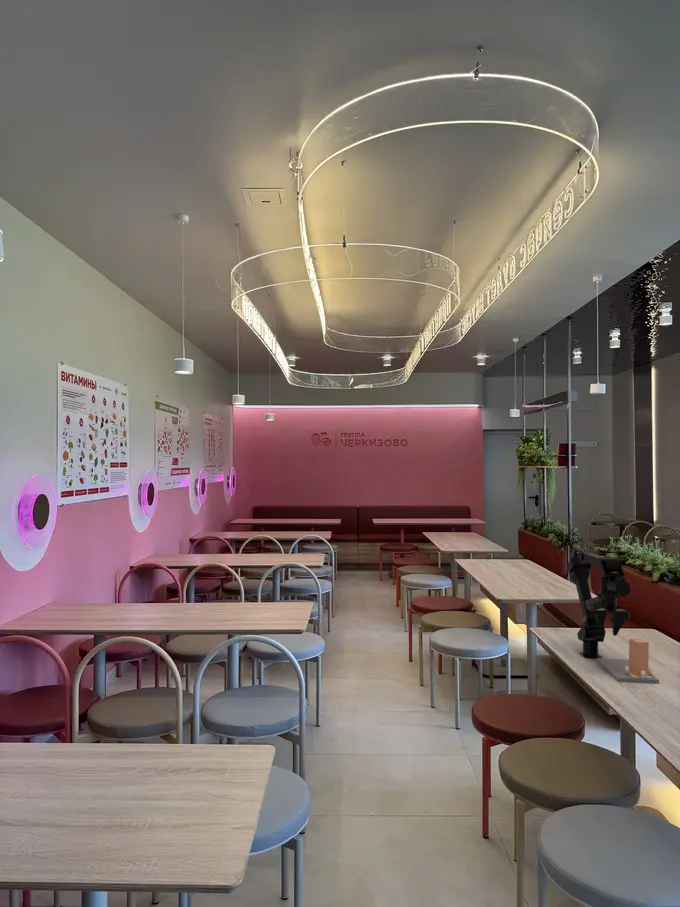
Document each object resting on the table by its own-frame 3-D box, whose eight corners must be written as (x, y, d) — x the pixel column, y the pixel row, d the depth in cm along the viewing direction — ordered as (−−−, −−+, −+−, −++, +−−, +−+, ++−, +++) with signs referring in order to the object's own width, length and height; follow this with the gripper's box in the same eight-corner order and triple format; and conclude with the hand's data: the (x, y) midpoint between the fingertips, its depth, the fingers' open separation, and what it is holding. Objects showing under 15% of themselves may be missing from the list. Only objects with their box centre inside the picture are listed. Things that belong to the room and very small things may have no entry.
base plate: (596, 661, 235) (596, 651, 235) (633, 662, 234) (633, 653, 234) (617, 681, 213) (618, 670, 213) (659, 683, 212) (659, 672, 212)
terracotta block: (628, 672, 219) (629, 638, 220) (640, 671, 220) (640, 638, 220) (636, 676, 215) (637, 642, 215) (648, 676, 216) (648, 642, 216)
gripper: (575, 586, 238) (575, 625, 237) (602, 596, 219) (601, 639, 219) (602, 585, 239) (601, 625, 239) (630, 596, 221) (630, 639, 220)
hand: (607, 632), depth 229 cm, fingers open, 9 cm apart
